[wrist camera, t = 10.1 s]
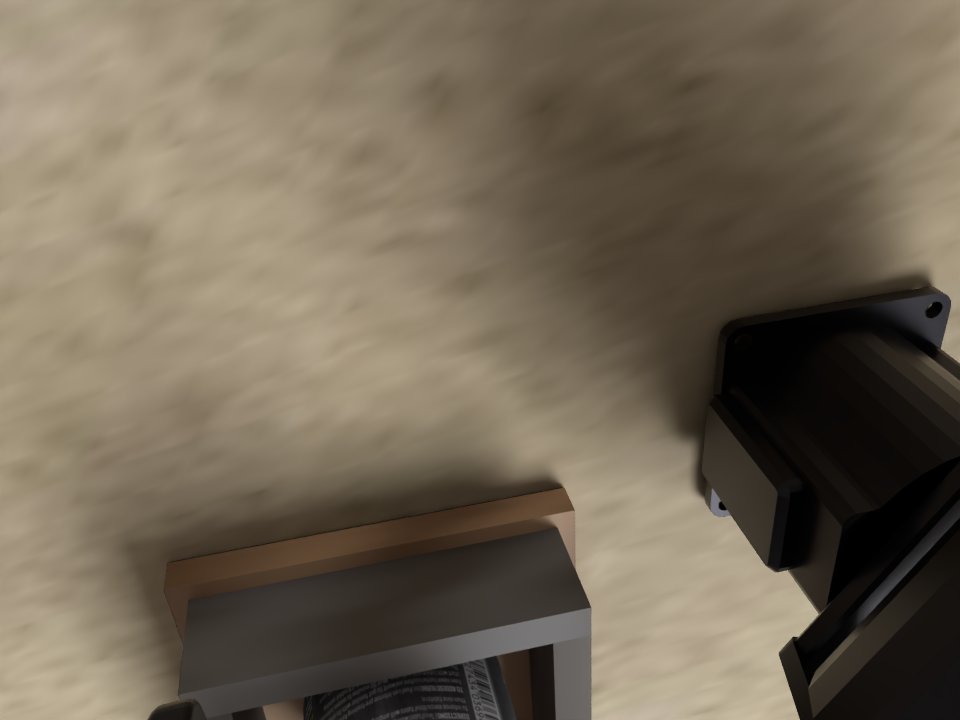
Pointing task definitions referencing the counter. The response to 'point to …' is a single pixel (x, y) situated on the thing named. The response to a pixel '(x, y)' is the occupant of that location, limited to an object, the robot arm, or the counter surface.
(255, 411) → the counter surface
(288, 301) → the counter surface
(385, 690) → the pill bottle
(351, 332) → the counter surface
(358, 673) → the holder
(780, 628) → the counter surface
